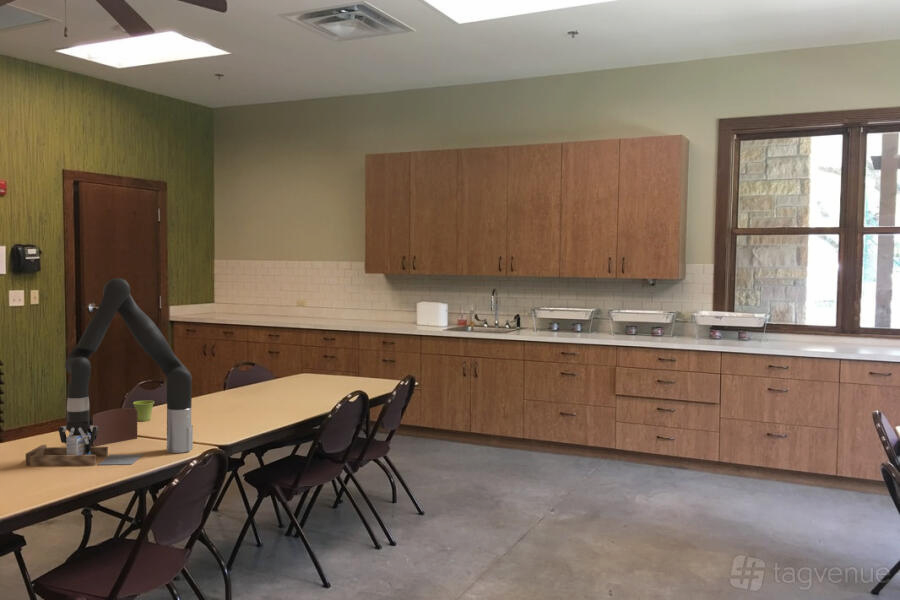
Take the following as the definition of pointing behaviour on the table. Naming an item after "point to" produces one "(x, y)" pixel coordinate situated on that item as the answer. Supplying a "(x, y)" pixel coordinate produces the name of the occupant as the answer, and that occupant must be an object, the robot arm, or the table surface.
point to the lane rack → (62, 456)
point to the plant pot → (143, 410)
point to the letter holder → (114, 426)
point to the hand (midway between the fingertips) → (78, 453)
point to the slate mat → (120, 460)
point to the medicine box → (76, 445)
